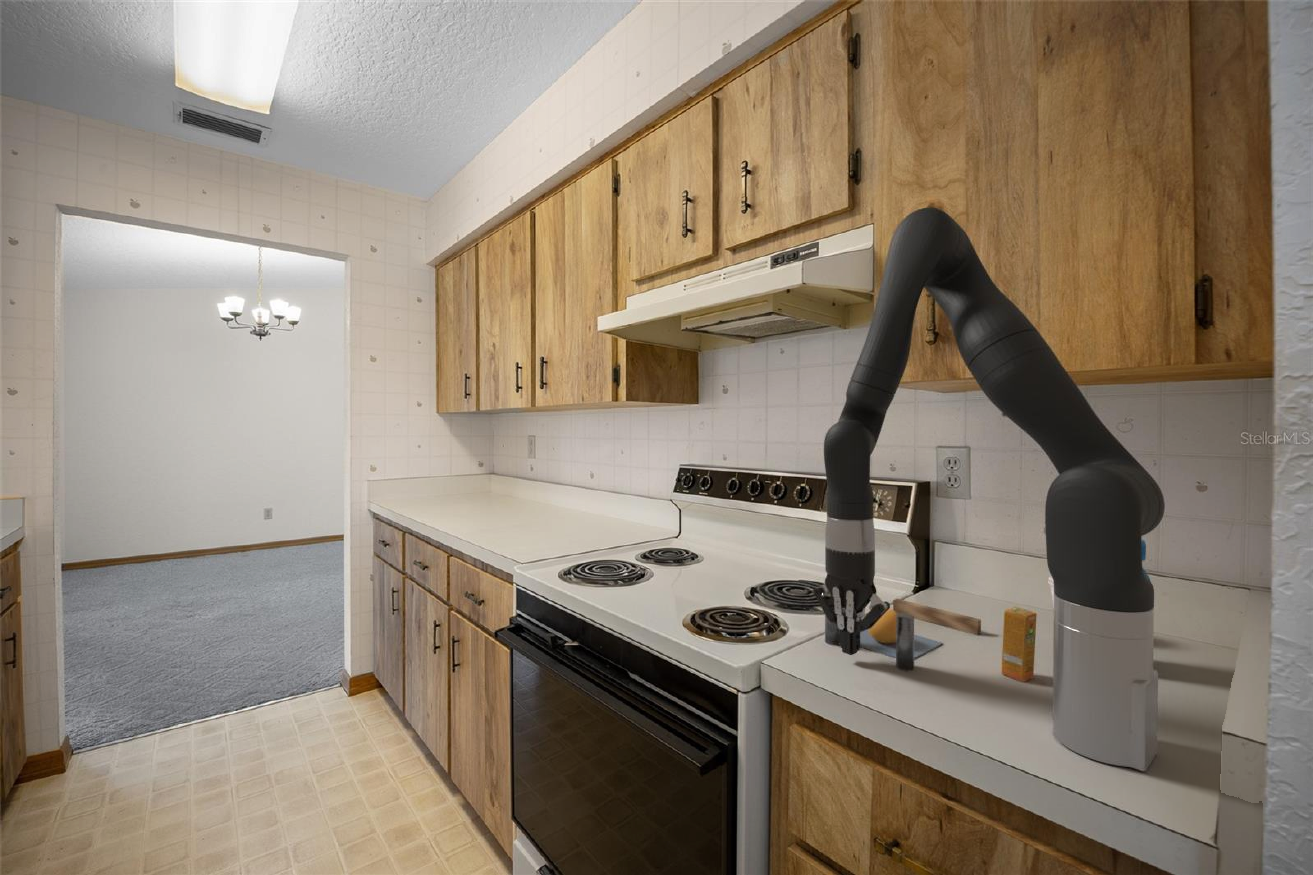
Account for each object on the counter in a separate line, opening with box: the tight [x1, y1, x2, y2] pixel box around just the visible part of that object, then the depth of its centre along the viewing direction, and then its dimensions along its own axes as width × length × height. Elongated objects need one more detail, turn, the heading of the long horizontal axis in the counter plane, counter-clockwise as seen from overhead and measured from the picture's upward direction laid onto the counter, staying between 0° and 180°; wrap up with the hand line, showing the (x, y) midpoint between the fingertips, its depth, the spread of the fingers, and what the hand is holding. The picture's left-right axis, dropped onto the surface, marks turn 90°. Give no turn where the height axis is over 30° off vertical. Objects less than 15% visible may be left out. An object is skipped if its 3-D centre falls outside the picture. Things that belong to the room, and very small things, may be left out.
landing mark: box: [860, 629, 944, 660], centre depth 98 cm, size 12×12×1 cm
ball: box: [868, 608, 897, 644], centre depth 98 cm, size 6×6×6 cm
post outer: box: [824, 614, 840, 646], centre depth 98 cm, size 3×3×8 cm
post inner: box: [895, 614, 915, 671], centre depth 88 cm, size 3×3×8 cm
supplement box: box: [1001, 606, 1038, 683], centre depth 85 cm, size 3×3×10 cm
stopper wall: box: [892, 598, 982, 636], centre depth 108 cm, size 16×2×2 cm, turn 38°
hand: (849, 652), depth 90 cm, fingers closed
